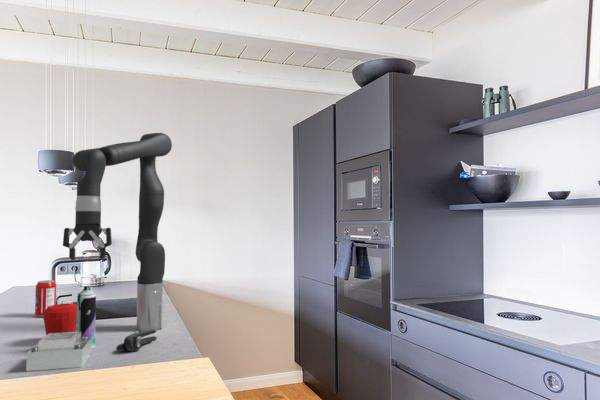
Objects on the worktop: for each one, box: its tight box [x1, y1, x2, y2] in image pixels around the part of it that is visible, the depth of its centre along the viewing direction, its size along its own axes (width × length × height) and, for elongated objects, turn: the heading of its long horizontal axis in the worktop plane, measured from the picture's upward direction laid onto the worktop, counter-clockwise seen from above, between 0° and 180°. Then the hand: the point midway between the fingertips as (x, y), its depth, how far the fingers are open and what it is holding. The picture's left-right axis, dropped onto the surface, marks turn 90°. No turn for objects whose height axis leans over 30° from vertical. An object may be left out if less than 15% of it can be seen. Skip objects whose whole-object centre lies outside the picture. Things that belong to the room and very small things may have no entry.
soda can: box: [34, 279, 57, 318], centre depth 192 cm, size 8×8×15 cm
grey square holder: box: [25, 331, 92, 372], centre depth 130 cm, size 14×12×8 cm
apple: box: [42, 301, 77, 336], centre depth 153 cm, size 11×10×14 cm
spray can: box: [76, 285, 97, 350], centre depth 145 cm, size 6×6×20 cm
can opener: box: [115, 329, 158, 352], centre depth 146 cm, size 18×7×6 cm, turn 165°
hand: (87, 259), depth 145 cm, fingers open, 8 cm apart
